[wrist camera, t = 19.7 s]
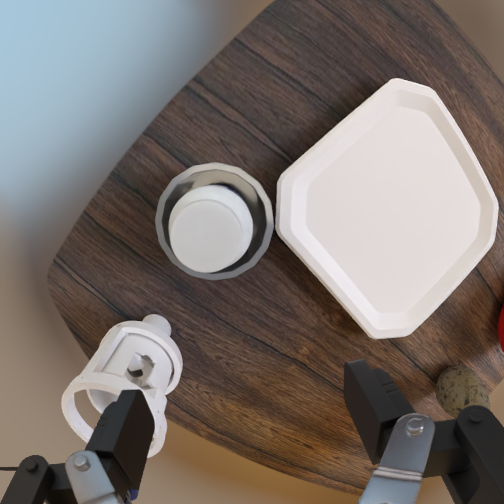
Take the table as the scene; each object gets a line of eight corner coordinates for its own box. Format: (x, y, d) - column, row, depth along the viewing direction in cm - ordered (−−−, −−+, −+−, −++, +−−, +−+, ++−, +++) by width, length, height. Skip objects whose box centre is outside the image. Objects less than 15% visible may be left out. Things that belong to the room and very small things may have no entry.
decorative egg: (465, 349, 32) (509, 390, 22) (457, 383, 34) (495, 425, 24) (429, 363, 32) (471, 411, 22) (423, 398, 34) (458, 446, 24)
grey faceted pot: (181, 265, 28) (168, 286, 22) (164, 174, 26) (146, 174, 20) (271, 252, 28) (279, 270, 23) (259, 159, 26) (264, 154, 21)
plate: (497, 222, 28) (509, 225, 26) (378, 347, 31) (386, 357, 29) (403, 67, 24) (413, 61, 22) (247, 201, 27) (248, 204, 25)
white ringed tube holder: (202, 347, 30) (182, 467, 15) (143, 364, 30) (97, 472, 16) (172, 285, 28) (118, 385, 14) (111, 307, 29) (34, 400, 14)
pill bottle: (253, 241, 27) (261, 278, 17) (191, 250, 27) (168, 291, 17) (244, 178, 26) (248, 180, 16) (181, 188, 26) (149, 196, 16)
